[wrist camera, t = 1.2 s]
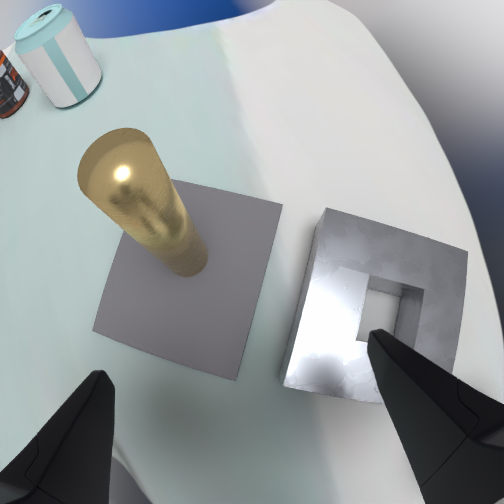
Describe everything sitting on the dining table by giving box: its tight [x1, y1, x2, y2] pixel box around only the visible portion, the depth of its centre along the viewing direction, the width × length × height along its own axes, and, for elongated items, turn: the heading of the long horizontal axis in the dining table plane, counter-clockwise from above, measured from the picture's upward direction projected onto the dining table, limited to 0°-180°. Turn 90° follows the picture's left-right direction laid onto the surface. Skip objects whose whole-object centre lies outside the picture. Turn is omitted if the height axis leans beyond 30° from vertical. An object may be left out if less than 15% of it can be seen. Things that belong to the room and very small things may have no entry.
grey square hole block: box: [279, 208, 468, 404], centre depth 21 cm, size 12×12×4 cm
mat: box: [92, 179, 283, 381], centre depth 24 cm, size 14×12×1 cm
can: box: [14, 4, 101, 107], centre depth 24 cm, size 7×7×12 cm
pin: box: [77, 128, 208, 277], centre depth 17 cm, size 3×3×14 cm
